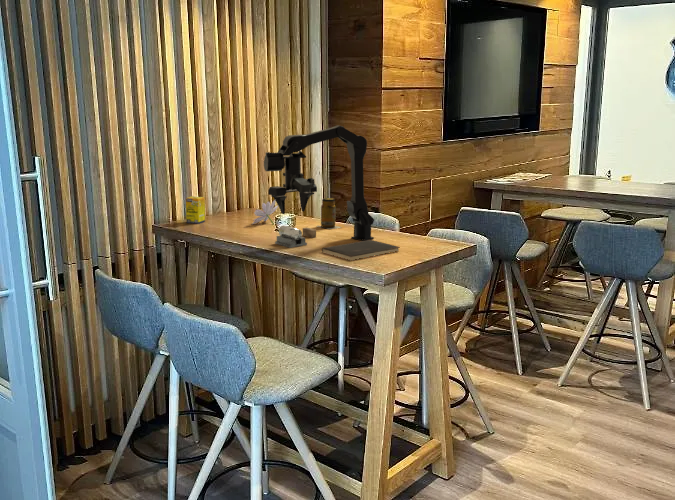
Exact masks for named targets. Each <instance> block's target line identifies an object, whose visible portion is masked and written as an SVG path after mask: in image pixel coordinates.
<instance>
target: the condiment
mask: <svg viewBox="0 0 675 500" xmlns="http://www.w3.org/2000/svg"><path fill="white" fill-rule="evenodd" d="M335 200H336V199H335V198H332V197H325V198H322V200H321V203H322V204H321V207H320V210H321V211H320V215H321V216H320V225H317V227H318V228H322V229H327V230H333V229H341V228H343V226H339V225H336V209H337V207H336V205H335V204H336V203H335V202H336V201H335Z"/></svg>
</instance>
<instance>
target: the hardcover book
mask: <svg viewBox="0 0 675 500" xmlns="http://www.w3.org/2000/svg"><path fill="white" fill-rule="evenodd" d="M400 247H401V246H399V245H398V246H397V245H393V244H389V243H385V242H382V241H377V240H373V239H368V240H363V241H362V240H360V241H356V242H350V243H344V244H338V245H332V246H327V247H322V248H321V253H324V254H327V255H331V256H333V255H334V257H337V256H338V257H337V258H340V257H342V258H341V259H344V258H345V259H344V260H347V259H348V260H347V261H351V260H352V261H356V260H355V259H357V260H360V259H359V258H363V259H365V258H364V257H368V258H370V257H369V256H373V257H375V256H374V255H378V256H380V255H379V254H383V255H385V254H384V253H389V252H394V253H396V252H395V251H398V252H399V251H400ZM389 254H390V253H389Z"/></svg>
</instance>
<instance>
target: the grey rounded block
mask: <svg viewBox="0 0 675 500" xmlns="http://www.w3.org/2000/svg"><path fill="white" fill-rule="evenodd" d="M302 237H305V238H306V237H307V238H311V239H314V238H317V229H314V228H310V227H308V226H307V227H302Z"/></svg>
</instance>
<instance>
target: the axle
mask: <svg viewBox="0 0 675 500" xmlns="http://www.w3.org/2000/svg"><path fill="white" fill-rule="evenodd" d="M278 235H279V236H280V235H281V236H285V237H289V238H292V239H296V240H299V239H300V238H301V237H303V231H302V230H301V229H299V228H295V227H291V226H287V225H281V226H279V228H278Z"/></svg>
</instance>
